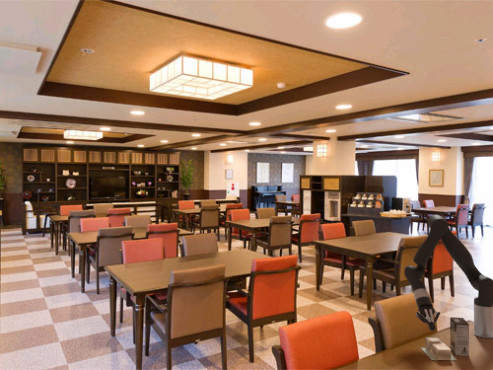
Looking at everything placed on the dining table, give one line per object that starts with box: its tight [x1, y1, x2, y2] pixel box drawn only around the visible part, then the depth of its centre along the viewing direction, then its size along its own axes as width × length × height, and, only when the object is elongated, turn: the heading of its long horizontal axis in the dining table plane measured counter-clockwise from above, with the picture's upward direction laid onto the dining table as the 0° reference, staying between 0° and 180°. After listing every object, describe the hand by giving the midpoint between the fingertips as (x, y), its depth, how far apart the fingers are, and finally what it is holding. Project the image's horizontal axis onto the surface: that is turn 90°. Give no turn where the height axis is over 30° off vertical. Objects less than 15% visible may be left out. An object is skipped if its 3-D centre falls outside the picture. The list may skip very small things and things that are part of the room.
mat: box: [420, 347, 458, 362], centre depth 189 cm, size 13×12×1 cm
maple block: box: [425, 336, 452, 360], centre depth 190 cm, size 5×6×14 cm
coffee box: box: [449, 316, 470, 357], centre depth 191 cm, size 9×6×16 cm
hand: (433, 330), depth 194 cm, fingers closed
